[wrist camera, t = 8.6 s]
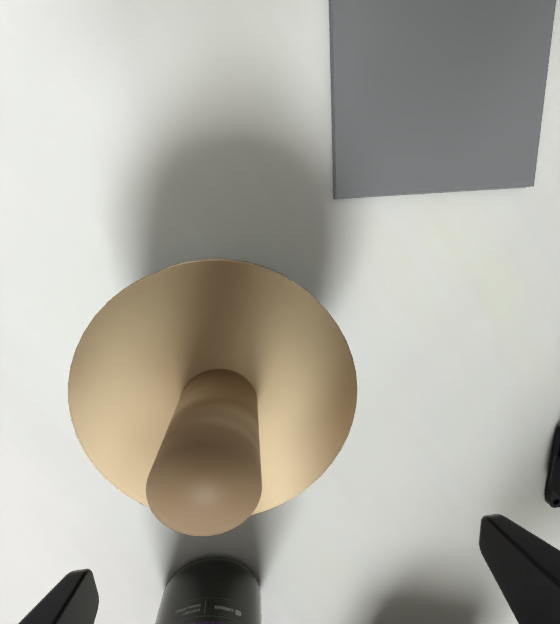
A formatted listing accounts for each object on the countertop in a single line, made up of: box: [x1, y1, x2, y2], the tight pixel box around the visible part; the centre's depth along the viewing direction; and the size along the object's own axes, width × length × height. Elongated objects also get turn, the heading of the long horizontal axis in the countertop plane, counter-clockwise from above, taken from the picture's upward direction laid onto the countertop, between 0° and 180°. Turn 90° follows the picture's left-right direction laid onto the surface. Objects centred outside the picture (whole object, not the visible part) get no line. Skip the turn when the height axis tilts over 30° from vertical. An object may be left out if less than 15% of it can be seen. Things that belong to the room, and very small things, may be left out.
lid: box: [68, 259, 357, 536], centre depth 11 cm, size 11×11×6 cm
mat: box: [329, 0, 556, 199], centre depth 16 cm, size 11×11×1 cm
